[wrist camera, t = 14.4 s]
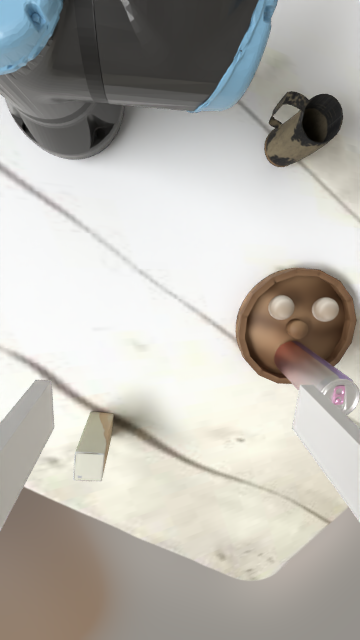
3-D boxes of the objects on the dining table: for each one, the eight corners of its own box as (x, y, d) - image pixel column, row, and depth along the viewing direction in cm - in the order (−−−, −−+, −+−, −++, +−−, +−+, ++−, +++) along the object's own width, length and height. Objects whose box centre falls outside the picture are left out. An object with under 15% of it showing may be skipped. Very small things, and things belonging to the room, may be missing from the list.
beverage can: (306, 338, 52) (364, 376, 38) (303, 369, 54) (358, 417, 40) (273, 340, 52) (319, 380, 38) (271, 372, 54) (315, 421, 39)
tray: (242, 264, 49) (248, 266, 46) (357, 271, 51) (369, 273, 48) (229, 376, 54) (234, 384, 51) (334, 378, 56) (343, 385, 53)
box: (111, 436, 56) (101, 484, 45) (88, 435, 55) (72, 482, 45) (114, 411, 54) (104, 454, 44) (90, 409, 54) (74, 452, 43)
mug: (307, 136, 45) (360, 101, 33) (290, 173, 46) (336, 152, 34) (261, 112, 43) (299, 66, 32) (245, 151, 45) (276, 121, 33)
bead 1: (266, 292, 50) (275, 297, 46) (289, 293, 50) (300, 298, 46) (263, 315, 51) (272, 322, 47) (285, 316, 51) (296, 323, 47)
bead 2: (309, 294, 50) (322, 299, 47) (332, 295, 51) (346, 300, 47) (305, 317, 51) (317, 324, 48) (327, 318, 52) (341, 325, 48)
